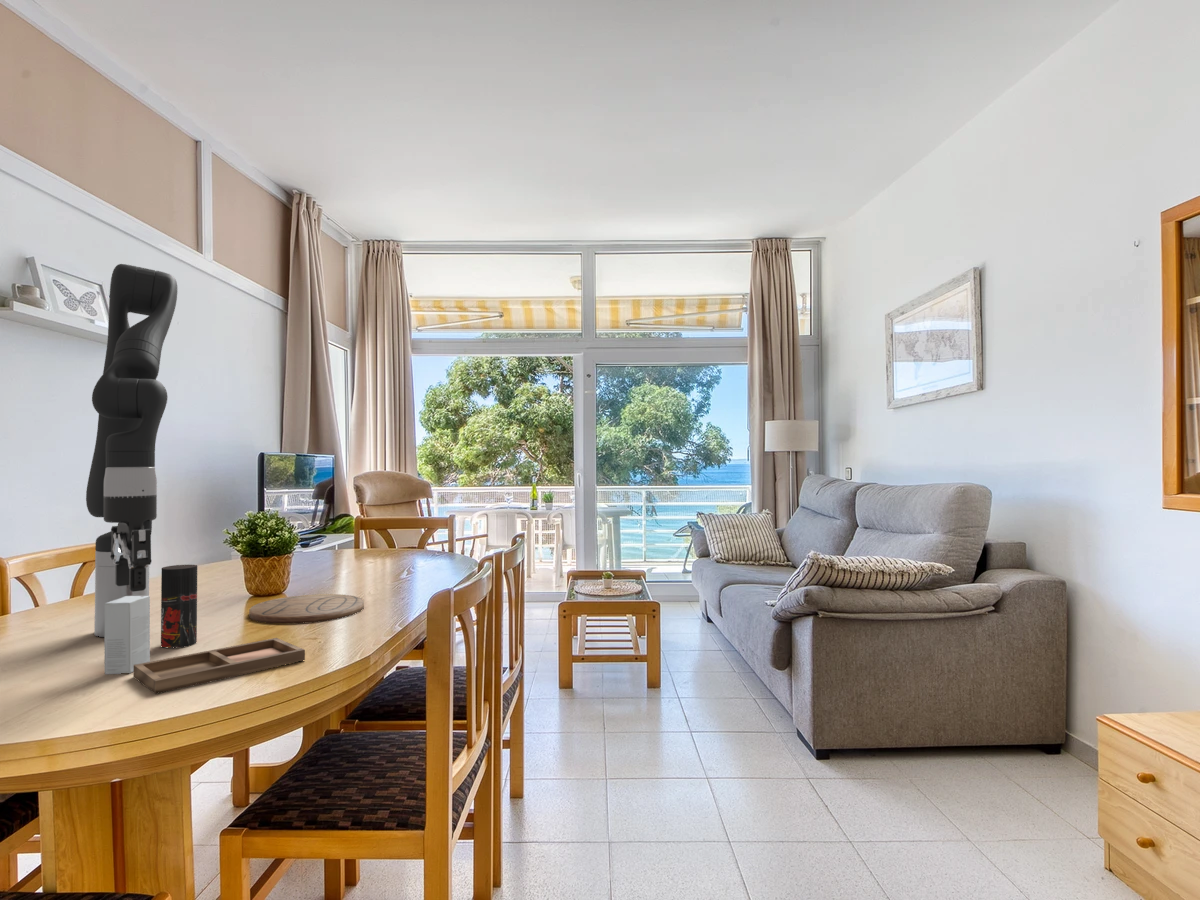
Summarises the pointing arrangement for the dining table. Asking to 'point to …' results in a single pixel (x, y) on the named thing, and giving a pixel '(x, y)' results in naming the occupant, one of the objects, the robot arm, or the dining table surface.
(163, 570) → the deodorant
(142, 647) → the skincare box
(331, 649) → the dining table surface
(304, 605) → the trivet
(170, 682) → the two-section desk tray
